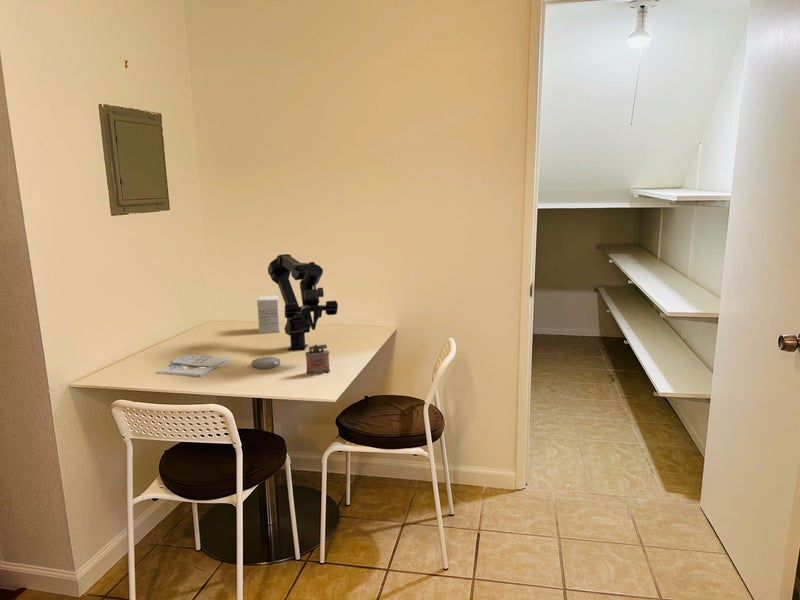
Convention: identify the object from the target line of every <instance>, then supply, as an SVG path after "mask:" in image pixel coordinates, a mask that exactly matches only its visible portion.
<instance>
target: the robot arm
mask: <svg viewBox="0 0 800 600" xmlns="http://www.w3.org/2000/svg"><path fill="white" fill-rule="evenodd" d="M267 272H268V273H267V274H268V275H269V276H270V279H271V280H272V282H274V283H275V284H277V286H278V288H279V291H280V294H281V297H282V299H283V303H284V318H285V319H286V323H285V325H284V333H285V334H287V335H288V336H289V338H290V339H289V340H290V345H289V346H288V348H287V349H288V351H305V350H306V348H308V347H309V344H306V336H305V335H306V334H307V333H310V331H311V330H313V331H315V330H316V327H317V322H318V320H319V319H320V318H322V315H323V311H325V314H326V315H327V316H334V315H337V314H338V308H339V305H338V301H336V300H326V301H325V304H320V298H324V296H325V293H324V287H317V285H318V284H319V282H320V281H321V280H320V279H321V277H322V276H323V273H324V269H323V268H322V267H321V266H320V265H319V264H316V263H315V261H309V262H300V261H299V260H297V259H295V258H294V257H292V255H291V254H288V253H286V254H278V255H277V257H276V258H274V259H273V260H272V261H270V263H269V264H268V267H267ZM290 275H291V277H292V278H293V279H294V281H299V290H300V295H301V303H302V304H301V306H300V305H299V302H298V300H297V297H296V295H295V292H294V289H293V286H292V284H291V282H290V279H289V278H290ZM319 304H320V305H319ZM312 313H313V318H312Z"/></svg>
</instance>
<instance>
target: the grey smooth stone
mask: <svg viewBox="0 0 800 600" xmlns="http://www.w3.org/2000/svg"><path fill="white" fill-rule="evenodd" d="M279 366H281V359H280V358H279V357H276V356H264V357H262V356H261V357H258V358H255V359H253V360H252V361H251V367H252V369H255V368H257V369H256V370H270V369H275V368H278V367H279Z"/></svg>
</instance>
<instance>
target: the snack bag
mask: <svg viewBox="0 0 800 600" xmlns="http://www.w3.org/2000/svg"><path fill="white" fill-rule="evenodd" d="M231 360H232V359H230V357H229V356H212V355H190V354H186V355H184V356H181V357H179V358H177V359H174V360H172V361H170V365H168V367H165V368H163V369H160V370H158V371H156V374H159V373H167V374H166V375H172V374H179V375H178V376H184V375H188V377H192V376H195V377H196V378H199V377H200V378H201V377H203V376H204V374H205V373H207V372H208V373H210V372H212V371H214V370H216V369H218V368H220V367H222V366H223V364H224V365H226V364H228V363H230V362H231ZM229 361H230V362H229ZM227 362H228V363H227ZM225 363H226V364H225ZM221 365H222V366H221ZM183 366H189V367H192V366H194V367H193V368H194V369H184V368H183ZM219 366H220V367H219ZM198 367H206V368H198ZM217 367H218V368H217ZM215 368H216V369H215ZM213 369H214V370H213ZM211 370H212V371H211ZM209 371H210V372H209ZM208 373H207V374H208ZM202 375H203V376H202ZM205 375H206V374H205Z"/></svg>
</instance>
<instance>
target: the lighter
mask: <svg viewBox="0 0 800 600" xmlns="http://www.w3.org/2000/svg"><path fill="white" fill-rule="evenodd" d="M327 348H328V345H327V344H326V343H325V344H319V345H318V344H314V345H308V351H305V361H306V363H305V364H306V371H305V372H306V375H307V374H317V375H324V374H323V373H326V374H329V373H328V372H330V373H331V370H330V350H329V349H328V350H325V349H327Z"/></svg>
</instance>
